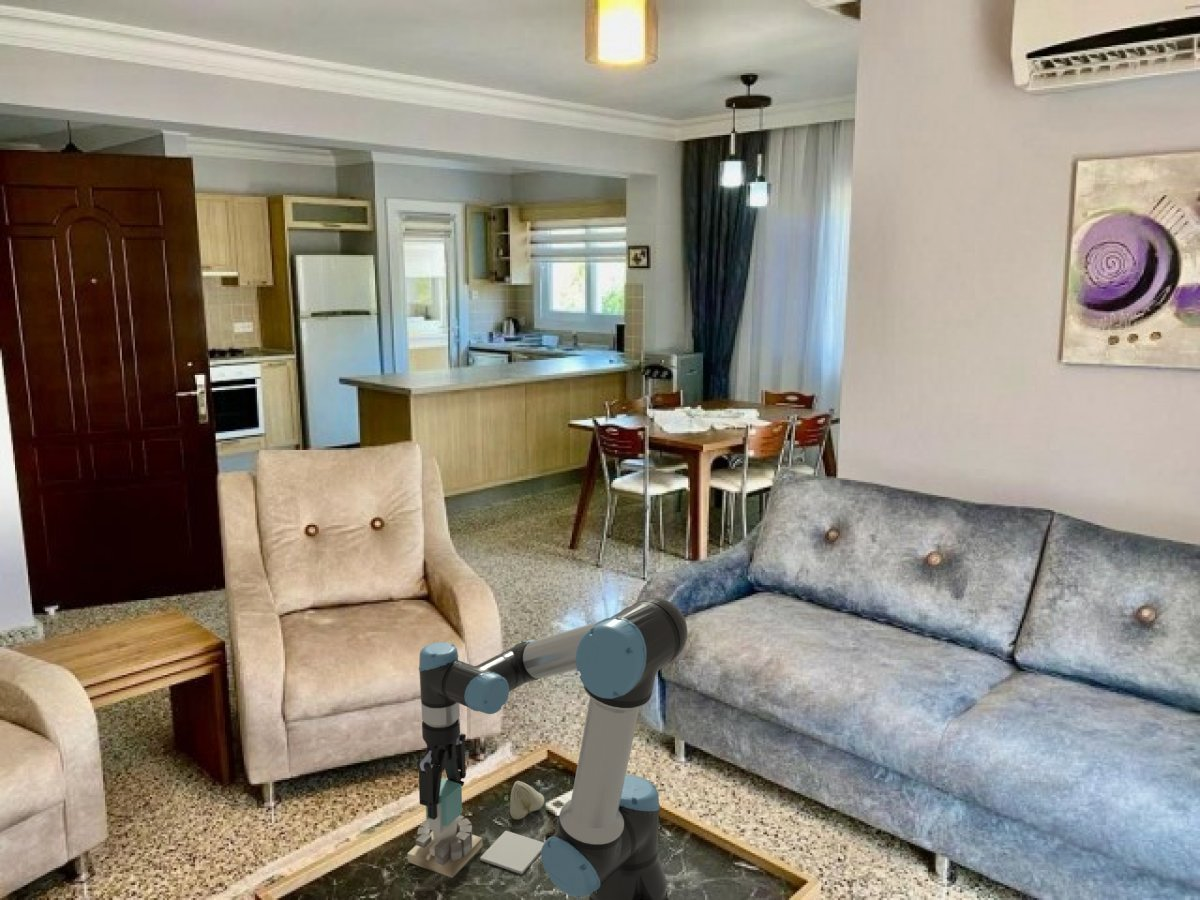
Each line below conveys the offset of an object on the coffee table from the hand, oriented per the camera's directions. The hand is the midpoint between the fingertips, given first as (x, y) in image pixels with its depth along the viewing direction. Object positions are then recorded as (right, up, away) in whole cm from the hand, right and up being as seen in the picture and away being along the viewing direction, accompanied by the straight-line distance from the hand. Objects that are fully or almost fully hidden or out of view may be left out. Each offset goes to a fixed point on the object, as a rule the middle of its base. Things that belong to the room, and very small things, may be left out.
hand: (444, 822), depth 188 cm
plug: (0, -5, +1) cm, 5 cm away
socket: (0, -7, +2) cm, 7 cm away
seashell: (+16, -4, +16) cm, 23 cm away
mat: (+14, -7, +2) cm, 16 cm away
